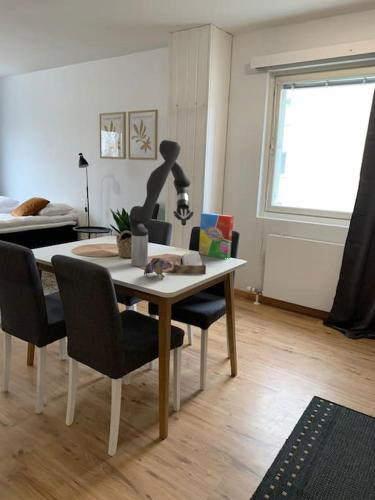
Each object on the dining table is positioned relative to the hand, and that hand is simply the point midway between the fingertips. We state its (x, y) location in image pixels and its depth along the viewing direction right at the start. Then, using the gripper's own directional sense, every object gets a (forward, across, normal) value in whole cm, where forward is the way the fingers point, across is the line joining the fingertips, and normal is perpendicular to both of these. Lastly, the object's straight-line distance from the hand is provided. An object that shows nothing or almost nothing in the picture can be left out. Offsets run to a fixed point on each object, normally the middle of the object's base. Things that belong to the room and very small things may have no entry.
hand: (183, 224), depth 221 cm
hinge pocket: (+34, +1, -3) cm, 34 cm away
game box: (+7, +22, +24) cm, 33 cm away
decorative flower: (+42, -17, -10) cm, 46 cm away
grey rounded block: (+29, +3, +2) cm, 29 cm away
